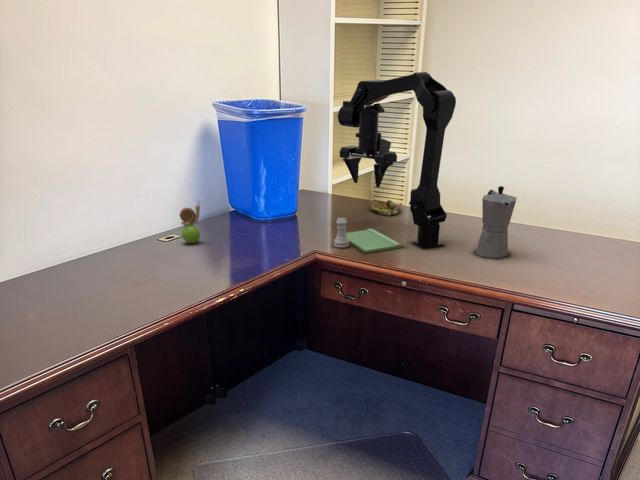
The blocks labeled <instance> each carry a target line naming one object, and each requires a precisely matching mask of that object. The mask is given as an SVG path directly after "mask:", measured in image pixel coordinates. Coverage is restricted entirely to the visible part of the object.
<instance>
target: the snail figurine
mask: <svg viewBox="0 0 640 480" xmlns="http://www.w3.org/2000/svg"><path fill="white" fill-rule="evenodd" d="M197 203H198V204H196V205H195V207H194V208H195V211H194V209H193V208H191V207H184V208H182V209H181V210H180V211H179V218H180V220H181V222H180V224H181V225H183V226H184V227H183V228H182V230H181V237H182V240H184V242H186V243H188V244H195V243H198V241H199V240H200V238H201V231H200V229H199V228H198V227H197V226H196V223H198V221H199V219H200V210H201V205H200V200H197Z"/></svg>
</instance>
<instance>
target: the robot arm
mask: <svg viewBox="0 0 640 480" xmlns="http://www.w3.org/2000/svg"><path fill="white" fill-rule="evenodd" d="M412 91H413V92H414V96H415V98H416V101H417V102H418V103H419V105H420V106H421V107H422V119H423V122H424V124H425V125H424V126H425V128H426V129H425V130H426V131H425V139H424V146H423V152H422V153H423V154H422V162H421V170H420V176H419V184H418V186H417V187H416V188H414V189H411V190H410V201H409V202H408V205H410V206H409V209H410V213H411V217H412V221H413V224H414V225H415V226H417V239H416V240H413V241H412V243H413V244H414V245H416V246H418V247H420V248H422V249H430V248H435V247H443V243H442V242H440V241H439V240H440V239H439V238H440V231H441V230H440V229H441V223H445V221H446V219H447V217H448V214H447V212H446V211H445V208H443V206H442V204H441V192H440V189H439V186H438V180H439V173H440V167H441V160H442V154H443V148H444V140H445V133H446V129H447V128H448V125H449V124H450V122H451V120H452V118H453V115H454V113H455V107H456V105H457V97H456V96H455V94H454V93H453V91H451V90H449V89H447V87H445V85H443V84H442V83H441V82H439V81H437V80H436V79H434V78H433V76H432V75H431V74H430V73H428V72H427V71H418V72H414V73H412V74H407V75H403V76H400V77H395V78H391V79H369V80H360V81H359V82H358V83H357V86H356V89H355V91H354V93H353V95H352V97H351V99H350V100H343V101H342V106H341V107H340V108H339V110H338V113H337V121H338V123H339V125H340V126H341V127H342V126H343V127H348V128H355V129H356V128H357V129H358V132H355V138H358V143H357V144H358V145H347V146H342V147H341V148H340V149H339V158H341V159H342V161H343V162H344V164H345V165H346V167H347V169H348V171H349V174H350V176H351V179H352V181H353V183H354V184H357V183H358V181H359V169H360V168H359V167H360V163H361V160H362V158H364V159H369V160H374V162H375V163H374V164H373V169H374V170H373V173H374V181H375V182H374V183H375V187H376V188H378V189H379V188H380V187H381V184H382V182H383V180H384V176H385V174H386V172H387V170H388V168H389V167H391V166H393V165H394V164H395V163H397V162H398V154H397V153H396V151H390V149H391V146H392V142H391V141H389V140H387V139H384V138H382V132H380V131H379V117H380V115H379V114H383V113H385V108H384V107H383V106H382V105H381V103H380V102H381V101H384V100H386V99H387V98H388V97H390V96H393V95H397V94H402V93H407V92H412Z"/></svg>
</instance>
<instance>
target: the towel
mask: <svg viewBox="0 0 640 480" xmlns="http://www.w3.org/2000/svg"><path fill="white" fill-rule="evenodd" d="M346 236H347V239H348V240H349V242H348V244H349V245H351V246H354V247H355V248H357V249H358V250H360V251H362V252H363V253H365V254H370V253H376V252H382V251H388V250H393V249H400V248H403V244H402V243H400V242H398V241H396V240H394V239H393V238H390V237H389V236H387V235H386V234H383V233H382V232H379V231H378V230H375V229H374V228H371V227H370V228H367V229H364V230H358V231H351V232H346Z"/></svg>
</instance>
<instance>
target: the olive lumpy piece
mask: <svg viewBox="0 0 640 480" xmlns="http://www.w3.org/2000/svg"><path fill="white" fill-rule="evenodd" d="M370 210H371V211H372V212H373V213H376V214H379V215H381V216H382V215H383V216H395V215H398V214H399V213H400V208H399V207H398V205H396V204H394V201H392V200H391V199H387V200H386V201H384V200H377V201H376V202H375V203H372V204H371V205H370Z"/></svg>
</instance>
